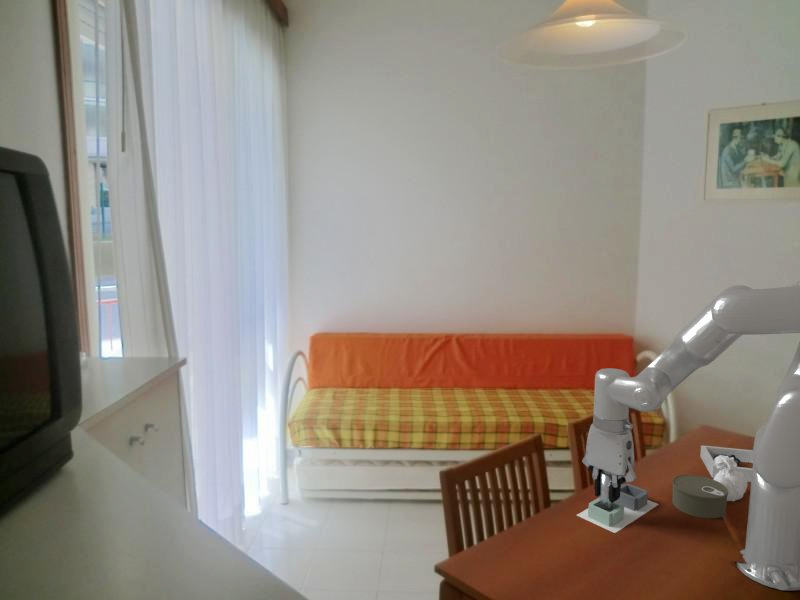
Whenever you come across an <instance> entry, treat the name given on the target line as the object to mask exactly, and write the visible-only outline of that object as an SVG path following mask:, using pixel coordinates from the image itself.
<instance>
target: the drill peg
mask: <svg viewBox="0 0 800 600" xmlns="http://www.w3.org/2000/svg"><path fill="white" fill-rule="evenodd" d="M611 485H612V473H610V472H607V471H602V472H601V483H600V496H599V497H600V507H599V508H601V509H604V510H606V511H608V512H611V511H613V503H611V502H610V501H609V494H610V486H611Z"/></svg>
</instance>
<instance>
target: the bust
mask: <svg viewBox="0 0 800 600" xmlns="http://www.w3.org/2000/svg"><path fill="white" fill-rule="evenodd" d="M713 460H714V462H715V464H716V466H717V469H719V468H720V471H719V472H718V473H717V474H716V475H715V477H714V478H712V479H713V480H716V481H718V482H720V483H721V484H723V485H724V486H725V487H726V488H727V489H728V495H727V502H735V501H738V500H740V499H743V497H744V494H745V493H746V491H747V488H748V482H747V481H746V478H745V476H744V474H743V473H742V472H739V471H734V470H735V468H736V467H737V463H735V461H734V457H731V458H729V457H728V456H723V455H719V456H718V457H716V458H715V459H713Z"/></svg>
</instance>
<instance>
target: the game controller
mask: <svg viewBox="0 0 800 600" xmlns="http://www.w3.org/2000/svg"><path fill="white" fill-rule="evenodd" d="M719 455H722V454H719ZM719 455H716V456H715V457H714V459H715V458H716V457H718V456H719ZM723 456H728V455H723ZM728 457H729V458H731V457H734V461H735V463H737V467H741V466H740V463H741V462H740V460H739V459H738V458H736V457H735V455H731V456H728ZM714 459H713V460H714Z"/></svg>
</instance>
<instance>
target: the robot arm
mask: <svg viewBox="0 0 800 600" xmlns="http://www.w3.org/2000/svg"><path fill="white" fill-rule="evenodd" d="M779 334H780V335H781V334H784V335H785V334H800V280H799V281H796V282H794V283H793V284H791V286H783V287H771V288H770V287H769V288H768V287H767V288H755V289H754V288H752V287H749V286H746V285H740V284H739V285H737V284H736V285H731V286H729V287H727V288H725V289H724V290H722V291H721V292H720V293H719V294H718V295H717V296H715V298H713V299H712V301H711V302H709V303H708V304H707V306H705V308H703V309H702V310H701V311H700V312H699V313H698V314H697V315H696V316H695V317H694V318H693V319H692V320H691V321H690V322H688V324H686V325H685V327H683V329H681V330H680V331H679V332H678V333H677V334H676V336H674V338H673V339H672V342H671V343H670V344H669V345H668V346H667V347H666V348H665V349H664V350H663V351H662V352H661V353H660V354H659V355H658V356H657V357H655V358H654V360H652V361H651V362H650V363H649V364H648V365H647V366H646V367H644V369H643V370H642V371H640V373H638V374H637V375H636V376H631V377H630V374H629V372H627V371H626V370H623V369H619V368H614V367H613V368H612V367H611V368H609V367H608V368H601V369H599V370H597V371H596V372H595V375H594V376H595V377H594V391H593V392H594V393H593V394H594V396H593V417H592V418H593V419H592V420H593V421H592V423H591V424H590V427H589V430H588V435H587V440H586V448H585V455H584V457H583V458H582V460H581V462H582V463H583V464H584V465H585V466H586V467H587V468H588V470H589V472H590V473H591V474H592V479H593V480H594V481H593V482H594V485H593V486H594V487H593V490H594V496H595V497H600V483H601V472H602V471H607V472H610V473H612V485H611V486H610V494H609V501H610V502H611V503H613V502H615V501H616V500H618V499H619V498H620V491H621V485H622V484H625V483H630V482H634V481H635V480H637V476H636V474H635V472H634V471H635V470H634V468H635V451H634V450H635V448H634V440H633V435H632V434H633V433H632V430H633V429H634V424H633V423H631V422H630V418H629V411H630V410H629V409H632V410H636V411H639V412H642V413H651V412H654V411H656V410H658V409H659V408H660V407H661V406H662V405H663V403H664V402H665V400H666V399H667V397H668V396H669V395H670V394H671V393H672V392H673V391H674V390H676V388H677V387H679V385H681V383H682V382H684V381H685V380H686V379H688V377H689V376H690V375H692V374H693V373H695V372H696V371H697V370H698V369H700V368H702V367H706V366H709V365H710V364H711V363H712V362H714V361H715V360H716V359H717V358H719V356H721V355H722V354H723V353H724V352H725V351H726V350H727V349H728V348H729V347H731V346H732V345H733V344H734V343H735V342H736V341H738V340H739V339H740V338H741V337H742V336H743V335H745V336H746V335H754V336H755V335H757V336H758V335H779ZM752 450H753V454H752V460H753V463H752V468H753V470H752V480H751V482H750V493H749V494H750V495H749V500H748V501H749V503H748V511H747V513H748V515H747V525H746V526H747V527H746V536H745V547H744V548H743V549H742V550H739V553H740V555H741V556H742V559H743V560H744V561H737V560H735V566H736V567H737V569H739V571H740V572H741V573H742V574H743V575H745V576H746V577H748V578H749V579H751V580H752V581H754V582H756V583H758V584H760V585H763V586H766V587H768V588H771V589H772V588H773V589H776V590H779V591H790V592H791V591H792V592H793V591H800V341H799V343H798V344H797V348H796V350H795V353H794V355H793V359H792V360H791V362H790V365H789V367H788V369H787V371H786V374H785V375H784V378H783V379H782V381H781V382H780V384H779V386H778V387H777V389H776V392H775V397H774V403H773V406H772V408H771V411H770V414H769V416H768V418H767V420H766V422H765V423H764V424H763V425H762V426H760V428H759V429H758V430H757V431H756V434H755V437H754V442H753V446H752ZM625 474H626V475H625Z"/></svg>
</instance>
